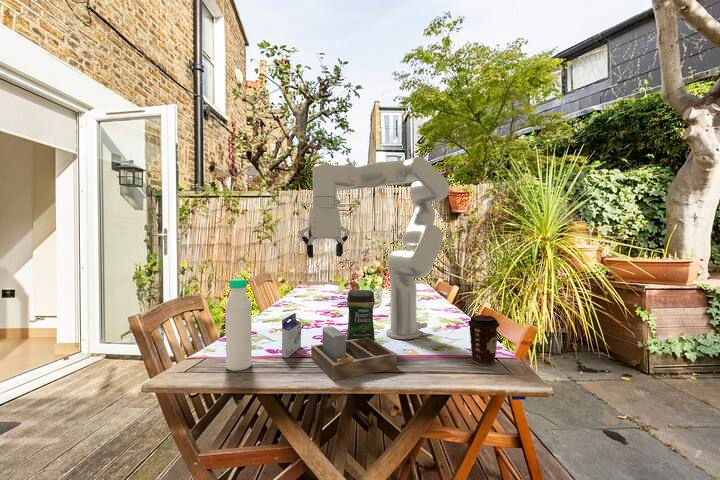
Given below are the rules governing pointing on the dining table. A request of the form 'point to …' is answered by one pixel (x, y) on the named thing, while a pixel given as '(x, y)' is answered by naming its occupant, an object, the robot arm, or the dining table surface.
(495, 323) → the coffee cup
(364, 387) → the dining table surface
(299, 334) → the ink box
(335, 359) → the panel
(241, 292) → the water bottle
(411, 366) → the dining table surface
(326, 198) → the robot arm
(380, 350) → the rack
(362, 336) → the coffee jar
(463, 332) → the dining table surface
